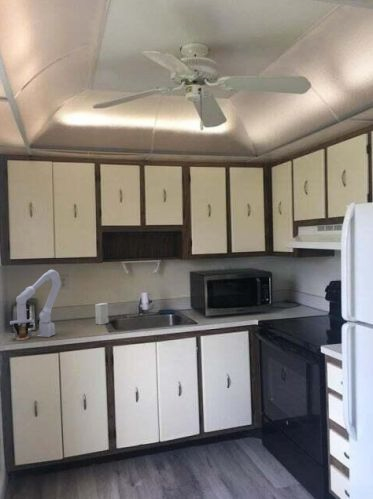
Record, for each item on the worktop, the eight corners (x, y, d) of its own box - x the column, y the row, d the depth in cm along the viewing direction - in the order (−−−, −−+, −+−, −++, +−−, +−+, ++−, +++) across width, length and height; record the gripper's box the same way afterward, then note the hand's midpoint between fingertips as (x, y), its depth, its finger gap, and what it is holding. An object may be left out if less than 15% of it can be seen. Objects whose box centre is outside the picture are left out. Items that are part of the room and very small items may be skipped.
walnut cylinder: (28, 336, 267) (28, 326, 267) (23, 337, 262) (22, 328, 262) (22, 335, 268) (21, 326, 268) (16, 337, 264) (16, 328, 264)
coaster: (32, 337, 268) (31, 336, 268) (23, 340, 260) (23, 339, 260) (22, 336, 270) (22, 335, 270) (13, 339, 262) (13, 338, 262)
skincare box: (101, 324, 298) (100, 304, 297) (95, 324, 301) (94, 304, 301) (109, 322, 305) (108, 302, 304) (103, 321, 308) (102, 302, 308)
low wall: (31, 334, 274) (31, 330, 273) (31, 335, 273) (31, 330, 272) (15, 336, 270) (15, 331, 270) (15, 336, 270) (15, 332, 269)
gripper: (33, 311, 270) (34, 331, 271) (10, 313, 266) (11, 334, 267) (33, 313, 264) (34, 334, 264) (9, 315, 259) (10, 336, 260)
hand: (22, 334), depth 265 cm, fingers closed on walnut cylinder, 5 cm apart
